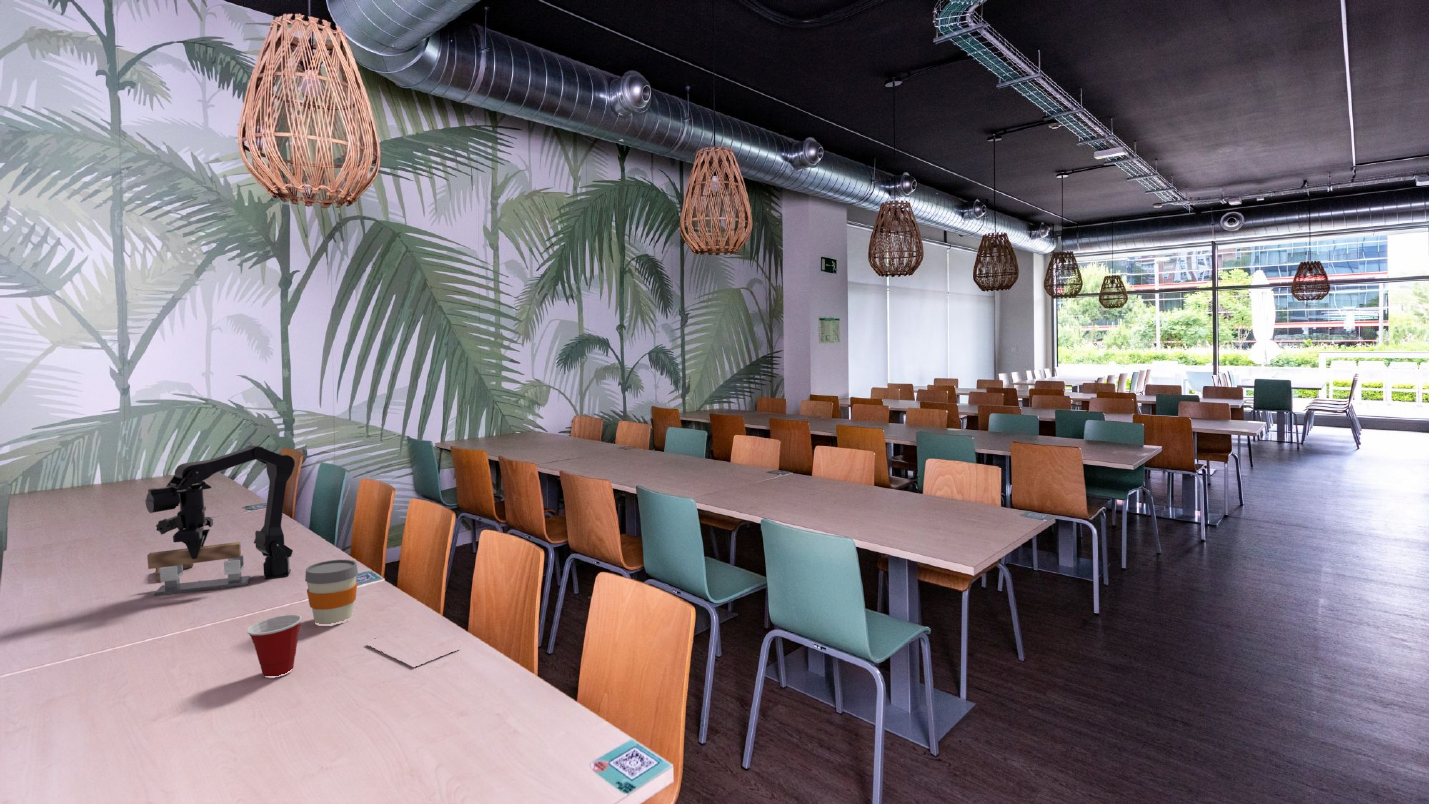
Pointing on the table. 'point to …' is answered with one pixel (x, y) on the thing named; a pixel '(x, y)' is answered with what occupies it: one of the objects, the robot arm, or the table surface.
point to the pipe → (157, 571)
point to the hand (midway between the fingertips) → (195, 557)
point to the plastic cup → (276, 643)
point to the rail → (185, 558)
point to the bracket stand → (174, 586)
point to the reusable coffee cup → (332, 590)
